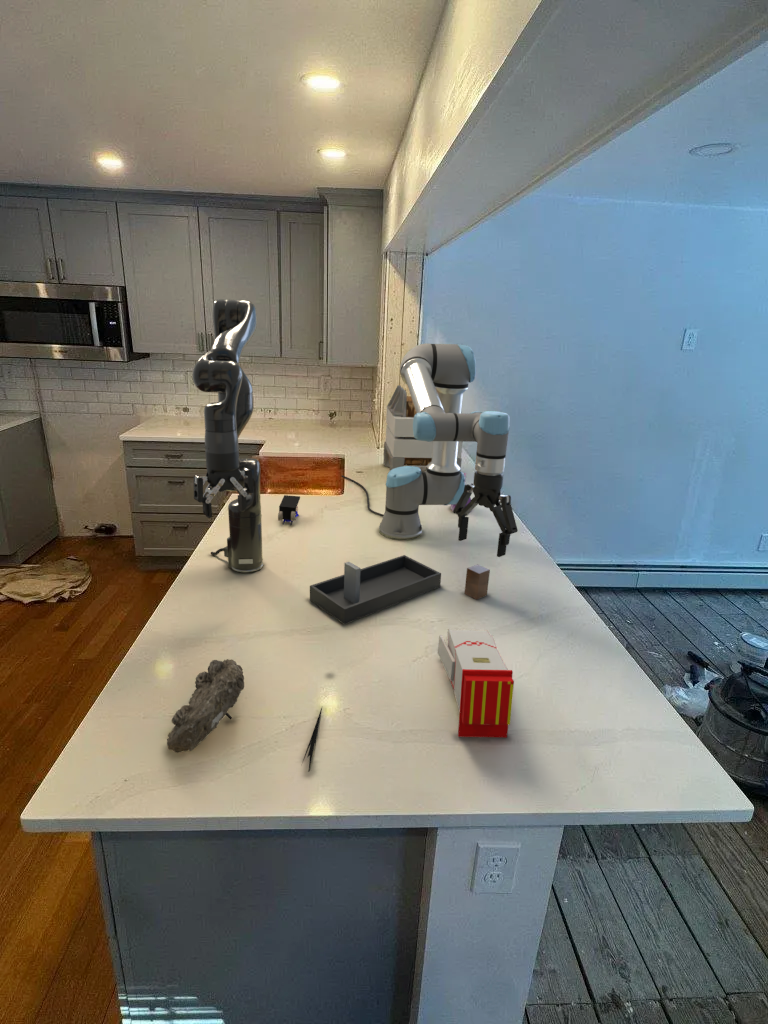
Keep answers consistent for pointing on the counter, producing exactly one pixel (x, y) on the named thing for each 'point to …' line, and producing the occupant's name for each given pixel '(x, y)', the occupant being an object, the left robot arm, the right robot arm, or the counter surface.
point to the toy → (478, 682)
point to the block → (477, 581)
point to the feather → (313, 740)
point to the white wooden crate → (406, 435)
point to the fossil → (206, 705)
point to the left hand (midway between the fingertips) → (225, 513)
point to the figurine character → (288, 509)
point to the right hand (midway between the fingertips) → (481, 547)
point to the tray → (373, 587)
